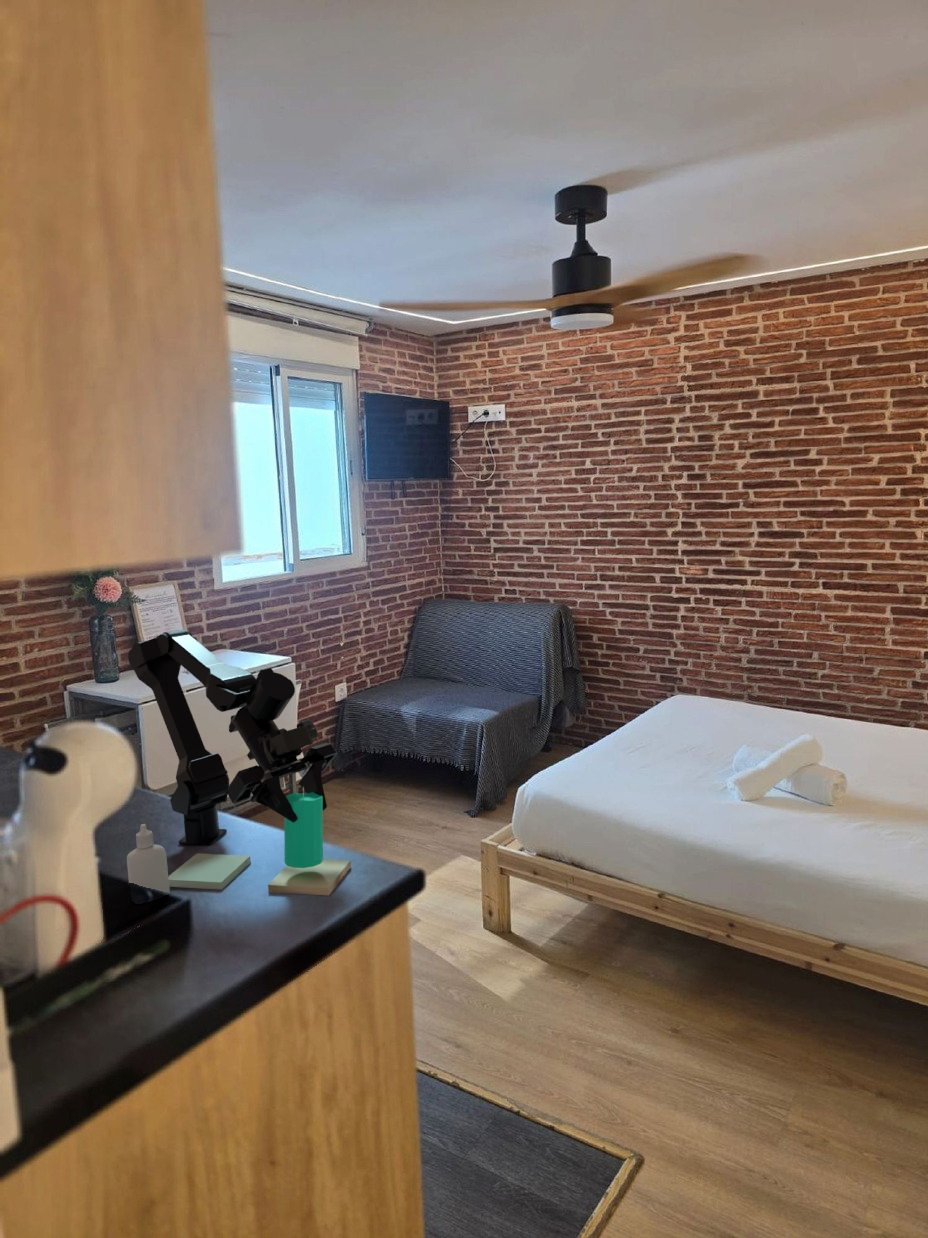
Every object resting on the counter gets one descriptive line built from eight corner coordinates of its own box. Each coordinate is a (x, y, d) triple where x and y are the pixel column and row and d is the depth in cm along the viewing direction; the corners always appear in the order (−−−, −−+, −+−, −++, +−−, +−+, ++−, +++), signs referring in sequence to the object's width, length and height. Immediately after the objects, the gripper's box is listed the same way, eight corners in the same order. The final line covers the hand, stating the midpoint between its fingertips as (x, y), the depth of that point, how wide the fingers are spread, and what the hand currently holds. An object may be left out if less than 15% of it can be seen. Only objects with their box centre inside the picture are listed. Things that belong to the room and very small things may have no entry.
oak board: (294, 864, 138) (294, 858, 138) (350, 867, 136) (350, 860, 136) (268, 892, 128) (268, 885, 128) (328, 895, 126) (328, 888, 126)
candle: (323, 867, 128) (322, 791, 128) (284, 869, 127) (283, 793, 127) (322, 854, 134) (322, 781, 134) (285, 856, 133) (284, 783, 133)
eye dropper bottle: (136, 893, 130) (128, 821, 128) (172, 890, 131) (165, 818, 129) (128, 906, 126) (119, 831, 124) (165, 903, 126) (158, 828, 125)
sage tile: (197, 860, 142) (196, 853, 142) (250, 862, 140) (250, 856, 139) (165, 886, 132) (164, 879, 132) (221, 889, 130) (221, 882, 130)
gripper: (232, 721, 124) (283, 806, 118) (326, 695, 138) (376, 770, 133) (206, 762, 130) (254, 845, 124) (299, 734, 144) (345, 807, 139)
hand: (310, 814), depth 130 cm, fingers closed on candle, 6 cm apart
